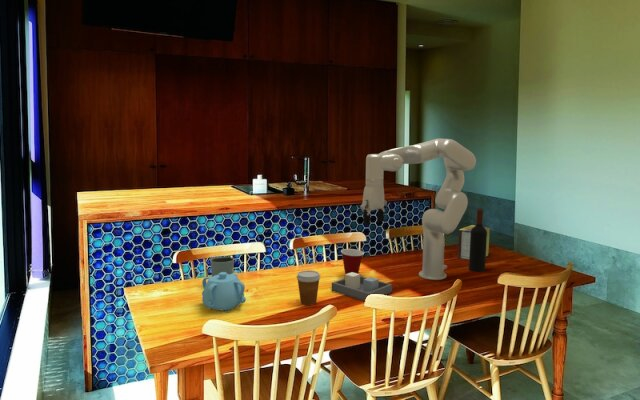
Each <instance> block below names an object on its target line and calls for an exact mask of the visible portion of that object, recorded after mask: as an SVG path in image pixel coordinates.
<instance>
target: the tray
mask: <svg viewBox="0 0 640 400" xmlns="http://www.w3.org/2000/svg"><path fill="white" fill-rule="evenodd" d="M366 278H367V277H365V276H362V275H360V288H358V289H355V288H351V287H348V286H345V278H341V279H338V280H336V281H332V282H331V291H332V292H335V293H338V294H340V295H344V296H347V297H351V298H353V299H356V300H360V301H363V302H366V301H365V299H366V297H367V296H368V295H370V294H384V295H385V296H387V294H388V295H389V294H392V293H393V284H392V283H388V282H384V281H380V280H379V287H378V289H376V290H373V291H371V292H365V291H363V279H366Z"/></svg>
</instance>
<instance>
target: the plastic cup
mask: <svg viewBox="0 0 640 400" xmlns="http://www.w3.org/2000/svg"><path fill="white" fill-rule="evenodd" d="M340 253H341V257H342V261H343V269H344V275H345V274H348V273H351V272H353V273H357V274H360V273H359V272H360V268H361V263H362V258H363V256H364V254H365V252H364V251H363V250H360V249H355V248H345V249H341V250H340Z"/></svg>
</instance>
